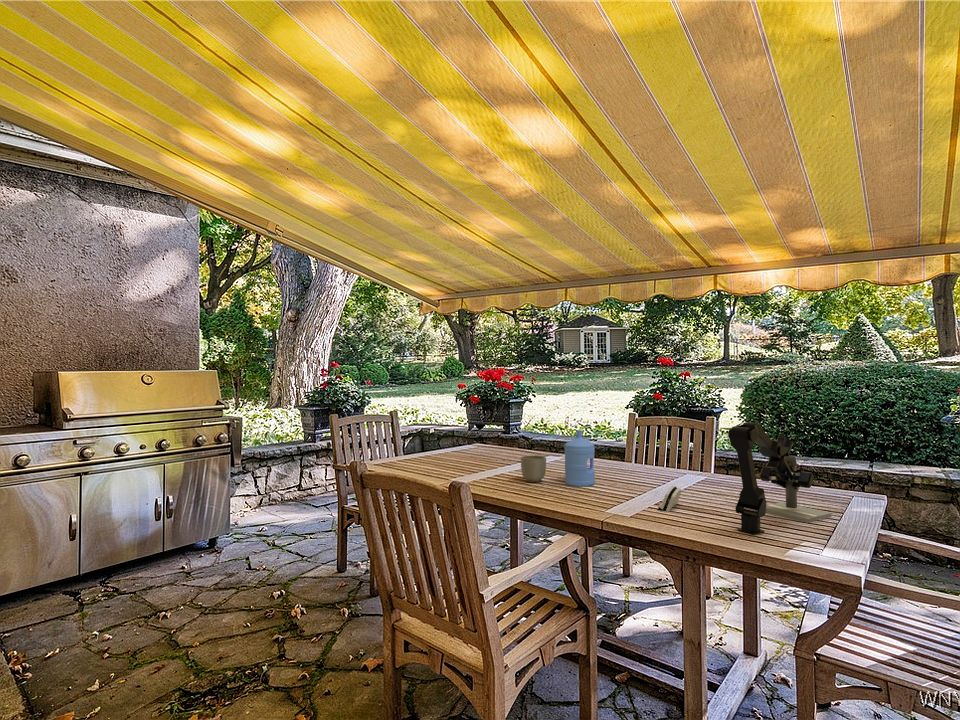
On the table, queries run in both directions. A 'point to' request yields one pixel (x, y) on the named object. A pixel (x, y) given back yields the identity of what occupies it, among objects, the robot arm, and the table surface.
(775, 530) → the table surface
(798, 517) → the board
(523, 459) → the planter
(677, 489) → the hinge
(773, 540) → the table surface
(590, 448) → the water jug
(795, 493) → the bottle
